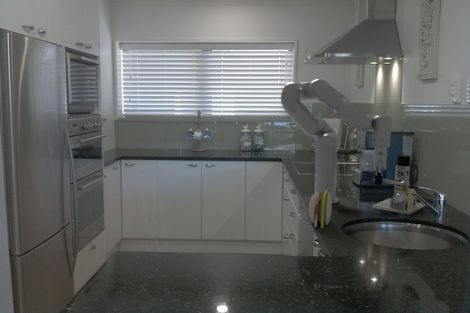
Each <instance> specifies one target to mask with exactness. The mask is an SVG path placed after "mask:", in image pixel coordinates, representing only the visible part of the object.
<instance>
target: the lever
mask: <svg viewBox="0 0 470 313" xmlns="http://www.w3.org/2000/svg"><path fill="white" fill-rule="evenodd" d="M372 182H374V183H375V177H373V178H372ZM382 184H392V185H395V184H397V185H401V186H409V187H410V181H409V182H406V181H401V182H400V181H395V180H391V179H386V178H383V179H382Z"/></svg>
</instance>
